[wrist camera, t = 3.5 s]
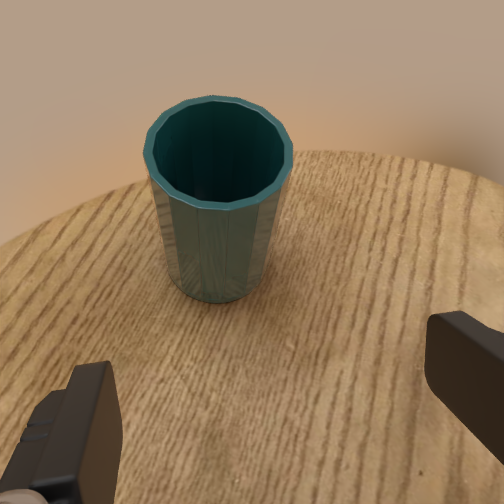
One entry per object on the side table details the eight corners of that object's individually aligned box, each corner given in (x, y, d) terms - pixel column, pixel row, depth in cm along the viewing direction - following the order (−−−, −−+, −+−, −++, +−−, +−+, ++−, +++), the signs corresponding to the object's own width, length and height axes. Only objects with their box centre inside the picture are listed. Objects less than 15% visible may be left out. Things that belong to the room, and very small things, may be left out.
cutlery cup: (181, 317, 25) (165, 226, 17) (155, 227, 28) (129, 110, 19) (282, 286, 27) (316, 188, 18) (248, 204, 30) (262, 84, 21)
